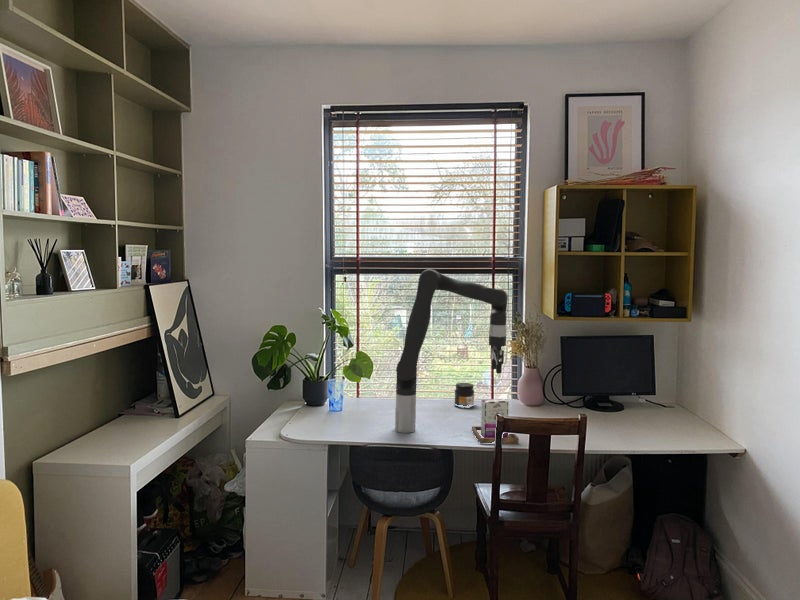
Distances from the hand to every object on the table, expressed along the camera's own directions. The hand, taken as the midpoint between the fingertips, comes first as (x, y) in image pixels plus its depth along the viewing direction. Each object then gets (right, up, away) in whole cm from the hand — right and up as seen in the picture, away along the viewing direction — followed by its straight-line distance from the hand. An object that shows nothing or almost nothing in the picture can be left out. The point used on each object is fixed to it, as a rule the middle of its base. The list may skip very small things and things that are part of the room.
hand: (496, 371), depth 242 cm
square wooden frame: (0, -30, +2) cm, 30 cm away
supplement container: (-8, -26, +54) cm, 60 cm away
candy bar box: (-1, -30, +2) cm, 30 cm away
